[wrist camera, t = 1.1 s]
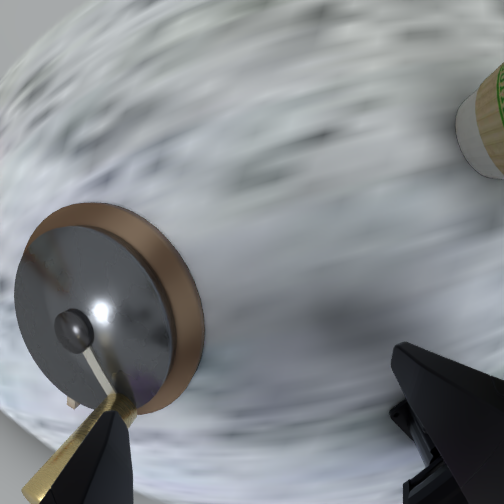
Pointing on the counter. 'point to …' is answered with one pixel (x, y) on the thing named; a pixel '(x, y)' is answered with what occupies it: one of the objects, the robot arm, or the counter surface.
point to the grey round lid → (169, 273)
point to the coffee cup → (484, 126)
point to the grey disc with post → (93, 328)
